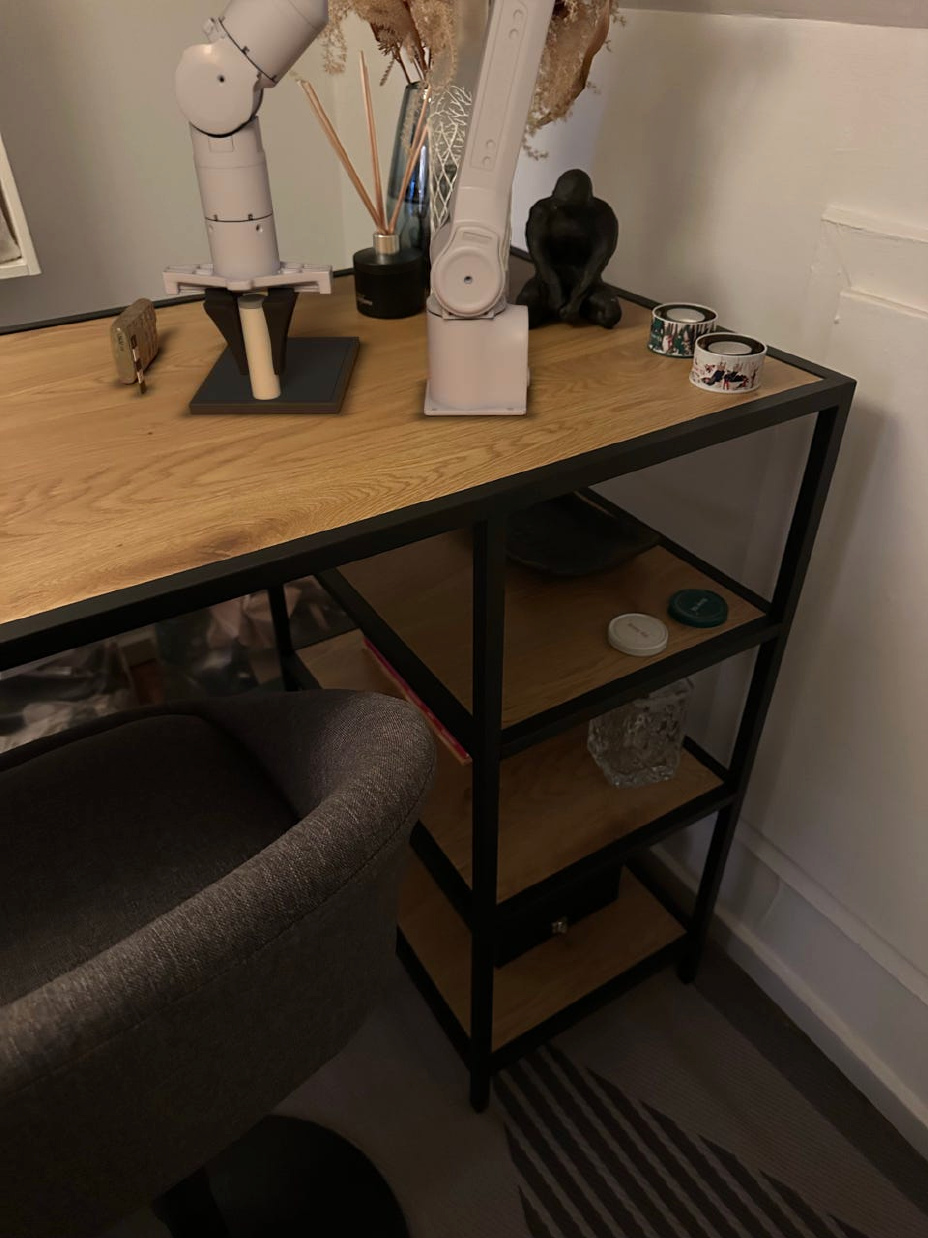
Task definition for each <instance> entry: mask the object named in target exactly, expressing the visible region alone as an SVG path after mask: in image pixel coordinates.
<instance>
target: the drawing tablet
mask: <svg viewBox="0 0 928 1238" xmlns="http://www.w3.org/2000/svg"><path fill="white" fill-rule="evenodd" d="M360 344H361V343H360V336H288V338H287V346H286V368H285V370H284V373H283V375H279V382H280V389H281V395H280V396H278V397H276V398H274V399H269V400H261V399H257V398H255V397H254V396H253V391H252V385H251V379H250V373H249V374H248V375H241V374H240V371H239V368H238V365H237V363H236V360H235V358H234V356H233V354H232V351H231V349H230V347H229V346H228V344H227V343H226V346H225V348H224V349H223V351H222V352H221V354H220V355H219V357H218V358H217V360H216V361H215V363H214V365H213V366H212V368H211V369H210V371H209V372H208V374H207V376H206V377H205V378H204V380H203V382H202V383H201V385H200V386H199V388H198V390H196V393H195V394H194V395H193V397H192V399H191V400H190V401H189V403H188V407H189V412H190V415H252V414H253V415H259V414H260V415H261V414H264V415H271V414H276V415H277V414H278V415H279V414H288V415H289V414H291V415H292V414H340V411H341V407H342V404H343V401H344V398H345V394H346V392H347V388H348V386H349V381H350V379H351V375H352V371H353V368H354V365H355V362H356V358H357V355H358V352H359V349H360V346H361V345H360Z"/></svg>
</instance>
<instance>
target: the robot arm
mask: <svg viewBox="0 0 928 1238" xmlns="http://www.w3.org/2000/svg"><path fill="white" fill-rule="evenodd" d="M555 3H556V0H490V5H489V9H488V15H487V19H486V20H487V21H486V24H485V25H486V26H485V30H484V36H483V40H482V46H481V51H480V55H479V60H478V66H477V70H476V74H475V75H476V76H475V81H474V86H473V92H472V96H471V101H470V106H469V111H468V116H467V121H466V126H465V132H464V137H463V142H462V147H461V150H460V151H461V152H460V157H459V160H458V161H459V162H458V166H457V171H456V177H455V181H454V184H453V187H452V190H451V194H450V198H449V201H448V202H449V203H448V206H447V207H448V208H447V211H446V214H445V216H444V218H443V220H442V221H441V223H440V224H439V225H438V226H437V228H436V229H435V231H434V232H433V234H432V237H431V239H430V243H429V244H430V245H429V258H430V259H429V260H430V262H431V270H430V280H429V281H430V288H431V291H432V293H431V294H430V295H429V296H428V297H427V298H426V301H425V303H426V327H427V328H426V329H427V330H426V331H427V354H428V355H427V356H428V357H427V358H428V379H427V380H426V389H425V397H424V406H423V414H424V415H425V416H523V415H526V414H527V392H528V391H527V390H528V387H529V386H530V380H531V379H530V377H531V375H530V374H531V373H530V371H531V370H530V366H528V363H529V362H528V361H529V359H528V358H529V310H528V309H529V307H528V306H527V305H519V304H511V303H508V302H507V298H506V297H507V295H505V294H504V293H503V292H504V290H505V286H506V277H507V275H506V268H505V264H504V260H503V248H504V247H503V246H504V241H505V236H506V232H507V222H508V211H509V210H508V209H509V202H510V201H509V200H510V195H511V192H512V187H513V183H514V178H515V174H516V170H517V165H518V161H519V157H520V153H521V148H522V145H523V144H522V143H523V140H524V135H525V131H526V127H527V123H528V119H529V116H530V115H529V114H530V111H531V106H532V102H533V97H534V94H535V89H536V85H537V80H538V76H539V72H540V67H541V64H542V59H543V54H544V51H545V47H546V43H547V38H548V34H549V30H550V29H549V28H550V24H551V20H552V16H553V12H554V7H555ZM329 20H330V13H329V0H231V1H230V2H229V3H228V4H227V6H226V7H225V8H224V10H223V11H222V12H221V14H220V15H219V16H218V18H217V19H215V18H214V17H212V16H210V17H208V18H207V19H206V20H205V22H204V23H203V25H202V26H201V30H202V32H203V33H204V34H205V35H206V38H207V40H208V42H201V43H197V44H194V45H191V46H189V47H187V48H186V49H184V50H183V52H182V55H181V60H180V61H179V63H178V64H177V67H176V69H175V72H174V77H173V92H174V97H175V101H176V103H177V105H178V108H179V110H180V112H181V113H182V115H183V116H184V118H186V120H187V121H188V127H189V131H190V139H191V142H192V149H193V162H194V167H195V174H196V179H197V185H198V189H199V196H200V201H201V208H202V214H203V217H204V218H203V219H204V224H205V229H206V236H207V240H208V247H209V252H210V258H211V262H208V263H206V262H205V263H198V264H187V265H186V264H185V265H168V266H167V267H165V268H164V270H163V271H162V272H161V277H162V281H163V286H164V291H165V295H166V296H178V295H180V293H204V302H203V303H202V307H203V310H204V313H205V314H206V315H207V316H208V317H209V319H210V320H211V322H213V324H214V325H215V326H216V328H217V329H218V331H219V332H220V334H221V335H222V337H223V339H224V340H225V342H226V345H227V344H228V346H229V347H230V349H231V351H232V354H233V356H234V358H235V360H236V363H237V365H238V368H239V371H240V374H241V375H248V374H249V367H248V361H247V355H246V349H245V343H244V337H243V331H242V325H241V319H240V313H239V306H238V301H237V299H238V298H239V297H240V296H243V295H244V293H267V295H266V297H265V298H264V300H263V302H262V309H263V312H264V316H265V320H266V324H267V328H268V332H269V337H270V343H271V353H272V364H273V370H274V374H275V375H283V373H284V370H285V368H286V346H287V338H288V337H289V332H290V331H289V330H290V326H291V323H292V318H293V315H294V310H295V307H296V304H297V301H298V298H299V294H300V293H303V292H304V293H318V294H320V295H331V294H332V293H333V291H334V288H335V284H334V273H333V265H330V264H312V263H311V264H310V263H301V262H292V261H281V260H280V251H279V245H278V236H277V230H276V222H275V215H274V208H273V200H272V192H271V186H270V185H271V184H270V178H269V176H270V175H269V169H268V162H267V154H266V151H265V149H264V146H263V141H262V139H263V138H262V131H261V123H260V117H259V115H257V114H258V112H259V110H260V109H261V107H262V104H263V101H264V96H265V95H264V94H265V89H274V88H275V87H277V85H278V84H279V83H280V82H281V81H282V79H283V78H284V77H285V76H286V75H287V74H288V73H289V71H290V70H291V69H292V68H293V66H294V65H295V64H296V63H297V62H298V60H300V58H301V57H302V55H304V54H305V52H306V51H307V49H309V48H310V46H311V45H312V44H313V42H314V41H315V40H316V39H317V38H318V37H319V35H321V33H322V32H323V31H324V30H325V28H326V27H327V26H328V24H329V22H330V21H329Z"/></svg>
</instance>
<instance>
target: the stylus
mask: <svg viewBox="0 0 928 1238" xmlns="http://www.w3.org/2000/svg"><path fill="white" fill-rule="evenodd" d="M266 296H267V295H266V294H262V293H246V294H243V296H240V297H239V298H238V299H237V301H238V306H239V313H240V319H241V325H242V331H243V337H244V343H245V349H246V355H247V361H248V367H249V373H250V379H251V385H252V391H253V396H254V397H255V398H257V399H261V400H269V399H274V398H276V397H278V396H280V395H281V389H280V382H279V375H275V374H274V370H273V364H272V353H271V343H270V337H269V332H268V328H267V324H266V320H265V316H264V312H263V309H262V302H263V300H264V298H265V297H266Z"/></svg>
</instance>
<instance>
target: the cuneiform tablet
mask: <svg viewBox="0 0 928 1238" xmlns="http://www.w3.org/2000/svg"><path fill="white" fill-rule="evenodd" d="M157 321H158V320H157V314H156V310H155V306H154V304H153V301H152V300H151V299H149V298H145V297H141V298H138V299H137V300H135V301H134V302H132V303H131V304H130V305H129V306H128V307H126V309H124V311H122V312H121V313H120V314H119V315H118V316H117V317H116V319H115V320H114V321H113V323H112V324H111V325H110V328H109V341H110V347H111V355H112V357H113V358H112V359H113V363H114V366H115V369H116V372H117V376H118V379H119V381H120V382H121V383H122V384H133V383H134V382H135V381H136V380H137V379H138V383H139V388H140V392H141V395H144V393H145V392H146V391H147V387H146V386H147V385H146V381H145V376H144V371H146V369H147V367H148V366H149V364H150V363H151V361H152V360H153V359H154V358H155V356H156V355H157V354H158V347H159V339H158V338H159V337H158V330H157Z"/></svg>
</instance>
